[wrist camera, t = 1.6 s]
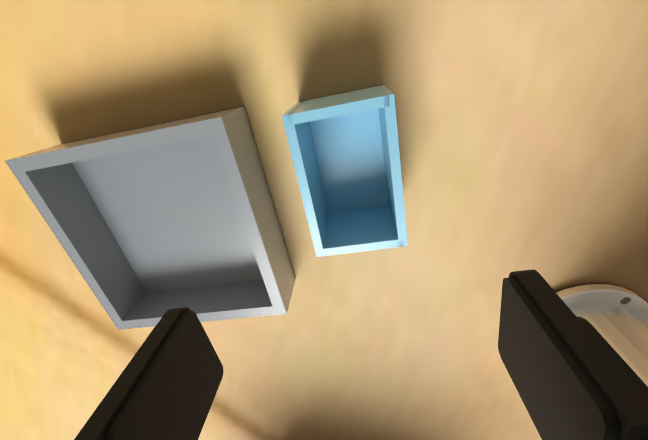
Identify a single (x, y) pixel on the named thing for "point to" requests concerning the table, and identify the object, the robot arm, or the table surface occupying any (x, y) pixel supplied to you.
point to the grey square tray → (166, 219)
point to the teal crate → (349, 170)
